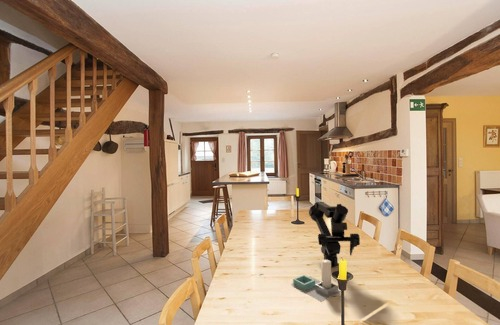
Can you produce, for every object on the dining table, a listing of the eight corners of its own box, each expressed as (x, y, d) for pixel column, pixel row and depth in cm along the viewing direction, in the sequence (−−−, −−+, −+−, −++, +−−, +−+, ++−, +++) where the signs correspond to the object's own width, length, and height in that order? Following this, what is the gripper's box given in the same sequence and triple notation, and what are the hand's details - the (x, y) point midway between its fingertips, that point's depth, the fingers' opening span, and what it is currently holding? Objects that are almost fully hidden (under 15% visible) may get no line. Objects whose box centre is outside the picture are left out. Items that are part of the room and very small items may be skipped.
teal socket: (293, 284, 121) (293, 278, 121) (304, 279, 125) (303, 274, 125) (304, 290, 116) (304, 284, 116) (315, 285, 120) (315, 280, 119)
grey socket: (315, 290, 116) (315, 284, 116) (325, 285, 120) (325, 279, 120) (327, 296, 110) (327, 290, 110) (338, 291, 114) (338, 285, 114)
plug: (319, 290, 115) (319, 261, 115) (326, 287, 118) (325, 258, 117) (327, 294, 112) (326, 264, 112) (333, 291, 114) (332, 261, 114)
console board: (290, 286, 121) (290, 284, 121) (310, 277, 129) (310, 276, 129) (321, 303, 107) (321, 301, 107) (341, 293, 114) (341, 291, 114)
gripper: (316, 217, 130) (317, 244, 118) (357, 216, 125) (362, 244, 113) (318, 231, 136) (319, 258, 124) (357, 230, 131) (361, 259, 119)
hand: (340, 255), depth 120 cm, fingers open, 9 cm apart
